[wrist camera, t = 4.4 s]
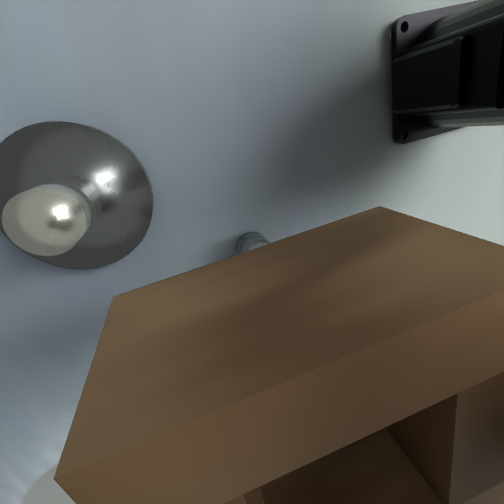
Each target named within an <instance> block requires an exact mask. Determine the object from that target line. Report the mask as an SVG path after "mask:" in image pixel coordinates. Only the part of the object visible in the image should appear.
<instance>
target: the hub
mask: <svg viewBox="0 0 504 504" xmlns="http://www.w3.org/2000/svg"><path fill="white" fill-rule="evenodd" d="M152 211H153V194H152V188H151V184H150V181H149V178H148V176H147V174H146V171H145V170H144V168H143V166H142V165H141V163H140V162H139V160H138V159H137V158H136V156H135V155H134V154H133V153H132V152H131V151H130V150H129V149H128V148H127V147H126V146H125V145H123V144H122V143H121V142H120V141H118V140H117V139H115V138H114V137H112V136H111V135H109V134H107V133H105V132H103V131H101V130H98V129H96V128H93V127H90V126H86V125H82V124H77V123H69V122H43V123H37V124H33V125H30V126H27V127H24V128H22V129H20V130H18V131H16V132H14V133H13V134H11V135H10V136H8V137H7V138H6V139H5V140H4V141H3V142H2V143H0V229H1V231H2V232H3V233H4V234H5V235H6V237H7V238H8V239H9V240H10V241H11V242H13V243H14V244H15V245H16V246H17V247H18V248H20V249H21V250H23V251H24V252H25V253H27V254H29V255H31V256H32V257H34V258H36V259H38V260H41V261H43V262H45V263H48V264H51V265H55V266H59V267H64V268H71V269H90V268H98V267H102V266H106V265H109V264H111V263H114V262H116V261H118V260H120V259H122V258H123V257H125V256H126V255H128V254H129V253H130V252H131V251H133V250H134V249H135V248H136V247H137V246H138V244H139V243H140V242H141V241H142V239H143V237H144V236H145V234H146V232H147V230H148V227H149V225H150V221H151V217H152Z"/></svg>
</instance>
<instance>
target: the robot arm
mask: <svg viewBox="0 0 504 504" xmlns="http://www.w3.org/2000/svg"><path fill="white" fill-rule="evenodd" d="M401 24H402V25H403V32H402V31H401V28H400V27H401ZM391 41H392V100H393V139H394V141H395V143H397V144H406V143H409V142H413V141H416V140H420V139H423V138H427V137H430V136H434V135H437V134H441V133H444V132H448V131H451V130H455V129H459V128H462V127H467V126H497V125H504V0H478V1H474V2H469V3H464V4H459V5H454V6H449V7H444V8H439V9H435V10H430V11H425V12H420V13H415V14H410V15H405V16H403V17H401V18H399V19H397V20H396V21H395V22H394V23H393V25H392V30H391ZM402 132H403V134H404V135H403V138H401V134H402Z"/></svg>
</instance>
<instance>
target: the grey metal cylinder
mask: <svg viewBox="0 0 504 504" xmlns="http://www.w3.org/2000/svg"><path fill="white" fill-rule="evenodd" d="M267 244H270V242H269V241H268V240H267V239H266V238H265V237H264V236H263V235H261V234H260V233H256V232H251V233H247V234H245V235H244V236H243V237H241V239H240V240H239V242H238V244H237V253H238V254H240V253H243V252H246V251H249V250H252V249H255V248H258V247H261V246H264V245H267Z"/></svg>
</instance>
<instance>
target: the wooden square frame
mask: <svg viewBox="0 0 504 504" xmlns="http://www.w3.org/2000/svg"><path fill="white" fill-rule="evenodd" d="M54 480H55V481H56V482H57V483H58V484H59V485H60V486H61V488H62V489H63V490H64V491H65V492H66V493H67V494H68V495H69V496H70V497H71V499H72V500H73V501H74V502H75V503H76V504H504V246H502V245H499V244H496V243H493V242H490V241H487V240H484V239H480V238H477V237H474V236H471V235H468V234H465V233H462V232H459V231H455V230H452V229H449V228H446V227H443V226H440V225H437V224H434V223H431V222H427V221H424V220H421V219H418V218H415V217H412V216H409V215H406V214H402V213H399V212H396V211H393V210H390V209H387V208H384V207H381V206H379V207H376V208H373V209H370V210H367V211H364V212H361V213H358V214H355V215H352V216H349V217H346V218H343V219H340V220H337V221H334V222H332V223H329V224H326V225H323V226H320V227H317V228H314V229H311V230H308V231H305V232H302V233H299V234H296V235H293V236H290V237H287V238H284V239H281V240H279V241H276V242H273V243H270V244H267V245H264V246H261V247H258V248H255V249H252V250H249V251H246V252H243V253H240V254H237V255H234V256H231V257H229V258H226V259H223V260H220V261H217V262H214V263H211V264H208V265H205V266H202V267H199V268H196V269H193V270H190V271H187V272H184V273H181V274H179V275H176V276H173V277H170V278H167V279H164V280H161V281H158V282H155V283H152V284H149V285H146V286H143V287H140V288H137V289H134V290H131V291H129V292H126V293H123V294H120V295H117V296H114V297H113V300H112V303H111V306H110V309H109V312H108V315H107V318H106V321H105V325H104V328H103V331H102V334H101V337H100V340H99V343H98V346H97V349H96V352H95V355H94V358H93V361H92V364H91V367H90V370H89V373H88V376H87V379H86V382H85V385H84V388H83V391H82V394H81V397H80V400H79V403H78V407H77V410H76V413H75V416H74V419H73V422H72V425H71V428H70V431H69V434H68V437H67V440H66V443H65V446H64V449H63V452H62V455H61V458H60V461H59V464H58V467H57V470H56V474H55V476H54Z"/></svg>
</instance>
